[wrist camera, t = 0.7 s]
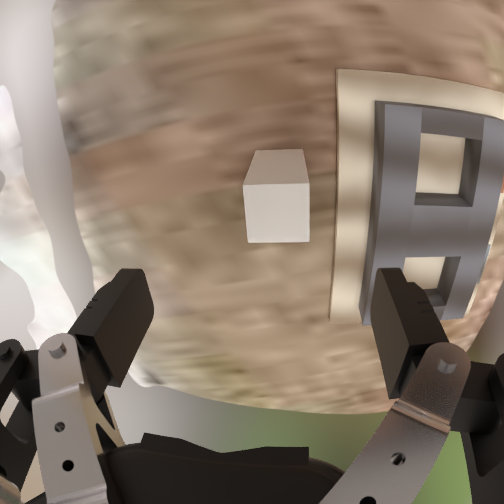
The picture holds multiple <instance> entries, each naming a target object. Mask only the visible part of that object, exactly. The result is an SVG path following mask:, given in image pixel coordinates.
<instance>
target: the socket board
mask: <svg viewBox="0 0 504 504" xmlns="http://www.w3.org/2000/svg"><path fill="white" fill-rule="evenodd" d="M336 91H337V201H336V226H335V245H334V261H333V275H332V288H331V300H330V311H329V324H341V323H362V324H363V325H372V324H371V318H370V308H371V301H372V295H373V289H374V283H375V277H376V272H377V269H378V268H396V267H399V268H401V270H402V272H403V274H404V276H405V278H406V280H407V282H415V283H416V284H417V285H418V286H420V287H421V288H422V289H423V290H424V291H425V293H426V295H427V297H428V299H429V301H430V304H431V305H432V307H433V309H434V312H435V313H436V315H437V317H438V319H439V320H449V319H459V318H463V317H464V315H468V313H469V311H470V308H471V306H472V303H473V300H474V298H475V295H476V292H477V290H478V287H479V284H480V281H481V278H482V275H483V272H484V269H485V266H486V263H487V260H488V256H489V253H490V250H491V246H492V243H493V239H494V235H495V231H496V228H497V224H498V219H499V215H500V211H501V206H502V202H503V197H504V93H503V92H499V91H495V90H491V89H487V88H483V87H478V86H474V85H469V84H465V83H460V82H454V81H449V80H443V79H437V78H431V77H425V76H417V75H410V74H401V73H392V72H382V71H369V70H352V69H336Z"/></svg>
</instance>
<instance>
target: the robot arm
mask: <svg viewBox="0 0 504 504" xmlns="http://www.w3.org/2000/svg"><path fill="white" fill-rule="evenodd" d="M153 315H154V305H153V301H152V298H151V294H150V291H149V287H148V284H147V280H146V277H145V274H144V271H143V270H142V269H121V270H120V271H119V272H118V273H117V274H116V276H115V277H114V278H113V280H112V281H111V282H108V283H107V284H106V285H104V286H103V287H102V288H100V289H99V290H98V291H97V293H96V294H95V295H94V297H93V298H92V301H90V302H89V303H88V305H87V306H86V309H84V310H83V312H82V313H81V314H80V316H79V317H78V319H77V320H76V321H75V323H74V324H73V326H72V327H71V329H70V330H69V331H68V333H61V334H57V335H54V336H52V337H50V338H48V339H47V340H46V341H45V342H44V343H43V344H42V345H41V347H40V349H39V350H30V351H25V350H24V349H23V347H22V346H21V344H20V342H19V341H17V340H15V339H9V340H6V341H4V342H2V343H0V411H1V409H2V407H3V405H4V403H5V401H6V399H7V398H8V396H9V394H10V392H11V391H12V393H13V394H14V395H15V396H16V398H17V399H18V400H19V402H18V404H17V406H16V408H15V410H14V412H13V414H12V415H11V417H10V419H9V422H8V423H7V425H6V427H5V426H4V425H3V424H2V423H1V420H0V504H412V502H413V500H414V499H415V497H416V496H417V494H418V492H419V490H420V489H421V487H422V485H423V483H424V482H425V480H426V478H427V476H428V474H429V473H430V471H431V469H432V467H433V465H434V463H435V461H436V459H437V457H438V455H439V453H440V451H441V449H442V447H443V445H444V443H445V441H446V438H447V436H448V434H449V431H458V432H460V433H461V438H462V442H463V447H464V452H465V458H466V463H467V469H468V475H469V481H470V488H471V495H472V503H473V504H504V354H502V355H500V356H499V358H498V359H497V361H496V363H495V364H494V365H493V364H485V363H478V362H472V361H470V359H469V356H468V355H467V353H466V352H465V351H464V350H463V349H462V348H460V347H459V346H457V345H455V344H452V343H449V341H448V338H447V336H446V334H445V332H444V330H443V327H442V325H441V323H440V321H439V319H438V317H437V315H436V313H435V312H434V309H433V307H432V305H431V304H430V301H429V299H428V297H427V295H426V293H425V291H424V290H423V289H422V288H421V287H420V286H418V285H417V284H416V283H415V282H407V280H406V278H405V276H404V274H403V272H402V270H401V268H399V267H396V268H378V269H377V272H376V277H375V283H374V289H373V295H372V301H371V308H370V318H371V324H372V328H373V332H374V336H375V340H376V344H377V348H378V352H379V356H380V361H381V365H382V369H383V374H384V378H385V383H386V388H387V392H388V397H389V399H396V398H399V400H398V401H396V402H395V403H394V404H393V406H392V407H391V409H390V410H389V412H388V413H387V415H386V416H385V418H384V420H383V421H382V423H381V424H380V426H379V427H378V428H377V430H376V431H375V433H374V434H373V436H372V437H371V439H370V440H369V442H368V443H367V444H366V446H365V447H364V448H363V450H362V451H361V452H360V454H359V455H358V456H357V458H356V459H355V460H354V462H353V463H352V464H351V466H350V467H349V468H348V470H347V471H346V472H344V471H343V470H341V469H339V468H338V467H336V466H334V465H331V464H329V463H327V462H324V461H321V460H318V459H314V458H310V457H309V447H261V448H255V449H248V450H242V451H235V452H227V453H219V452H215V451H212V450H209V449H206V448H204V447H201V446H198V445H196V444H193V443H190V442H188V441H185V440H183V439H179V438H173V437H166V436H160V435H155V434H149V433H144V435H143V438H142V440H141V443H135V444H128V445H126V444H125V443H124V441H123V439H122V437H121V435H120V432H119V429H118V427H117V424H116V421H115V418H114V415H113V412H112V409H111V406H110V403H109V399H108V397H107V394H106V393H105V389H106V387H107V385H109V386H114V387H121V385H122V382H123V380H124V378H125V376H126V374H127V372H128V369H129V367H130V365H131V363H132V361H133V359H134V357H135V355H136V352H137V350H138V348H139V346H140V344H141V342H142V340H143V338H144V336H145V334H146V332H147V330H148V328H149V326H150V324H151V322H152V319H153ZM36 451H38V458H39V463H40V469H41V474H42V479H43V484H44V488H45V492H44V493H42V494H40V495H39V496H37V497H35V498H33V499H32V500H30V501H28V502H26V503H24V502H23V501H22V500H21V496H20V492H21V489H22V486H23V484H24V481H25V478H26V476H27V473H28V471H29V468H30V465H31V463H32V460H33V458H34V456H35V453H36Z"/></svg>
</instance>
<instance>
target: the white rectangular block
mask: <svg viewBox="0 0 504 504" xmlns="http://www.w3.org/2000/svg"><path fill="white" fill-rule="evenodd" d="M243 194H244V205H245V216H246V226H247V237H248V243H268V242H309V179H308V174H307V169H306V163H305V158H304V153H303V149H281V150H256V151H255V154H254V157H253V159H252V162H251V164H250V167H249V170H248V172H247V175H246V178H245V180H244V183H243Z"/></svg>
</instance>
